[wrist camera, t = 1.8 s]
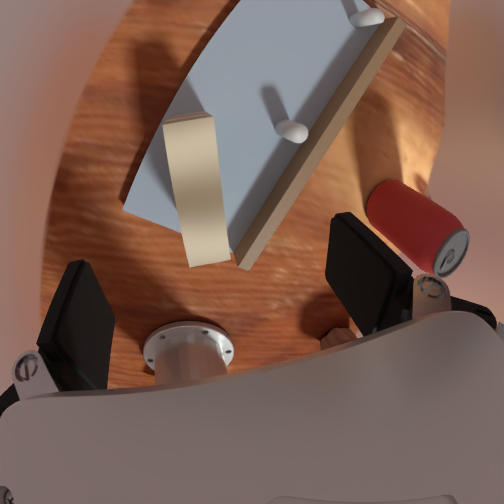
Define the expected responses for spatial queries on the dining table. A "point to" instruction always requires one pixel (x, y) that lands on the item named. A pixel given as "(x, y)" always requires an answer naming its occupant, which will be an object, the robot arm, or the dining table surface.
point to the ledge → (269, 108)
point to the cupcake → (337, 338)
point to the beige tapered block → (197, 186)
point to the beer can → (418, 228)
